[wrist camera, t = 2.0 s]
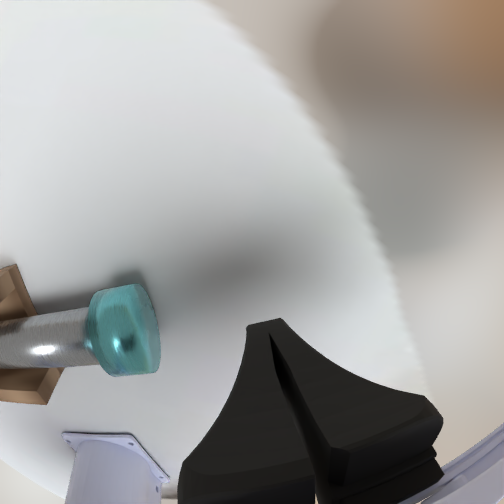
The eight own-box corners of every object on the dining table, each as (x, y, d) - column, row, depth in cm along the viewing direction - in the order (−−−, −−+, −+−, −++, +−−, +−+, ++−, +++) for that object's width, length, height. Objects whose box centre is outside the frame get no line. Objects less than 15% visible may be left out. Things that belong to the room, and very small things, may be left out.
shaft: (139, 268, 14) (118, 313, 10) (164, 337, 16) (155, 391, 12) (-26, 304, 13) (-58, 336, 9) (0, 354, 15) (-25, 390, 11)
